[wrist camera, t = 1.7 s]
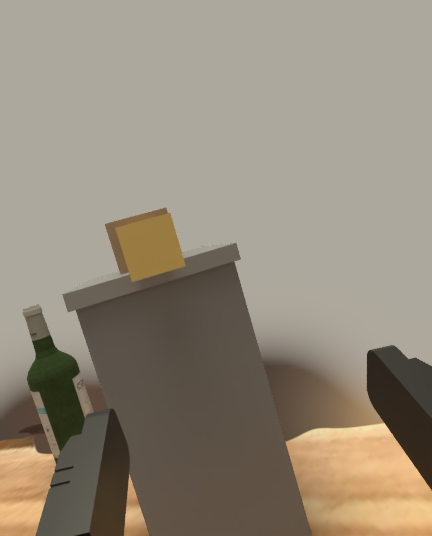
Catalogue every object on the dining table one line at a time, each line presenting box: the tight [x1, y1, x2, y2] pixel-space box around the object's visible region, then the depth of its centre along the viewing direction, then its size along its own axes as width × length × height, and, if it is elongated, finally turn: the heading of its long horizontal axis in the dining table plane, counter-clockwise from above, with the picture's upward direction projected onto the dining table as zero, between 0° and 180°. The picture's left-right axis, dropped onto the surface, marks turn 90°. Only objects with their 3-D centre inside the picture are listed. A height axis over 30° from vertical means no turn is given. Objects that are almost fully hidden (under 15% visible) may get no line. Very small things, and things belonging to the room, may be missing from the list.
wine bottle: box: [23, 305, 93, 464], centre depth 62 cm, size 8×8×30 cm
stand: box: [63, 243, 312, 536], centre depth 41 cm, size 17×15×32 cm
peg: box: [105, 208, 186, 282], centre depth 31 cm, size 21×6×5 cm, turn 12°
